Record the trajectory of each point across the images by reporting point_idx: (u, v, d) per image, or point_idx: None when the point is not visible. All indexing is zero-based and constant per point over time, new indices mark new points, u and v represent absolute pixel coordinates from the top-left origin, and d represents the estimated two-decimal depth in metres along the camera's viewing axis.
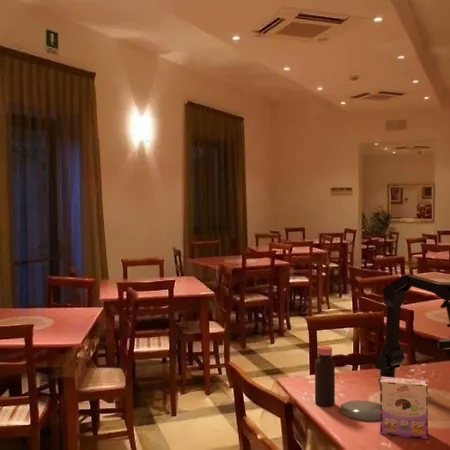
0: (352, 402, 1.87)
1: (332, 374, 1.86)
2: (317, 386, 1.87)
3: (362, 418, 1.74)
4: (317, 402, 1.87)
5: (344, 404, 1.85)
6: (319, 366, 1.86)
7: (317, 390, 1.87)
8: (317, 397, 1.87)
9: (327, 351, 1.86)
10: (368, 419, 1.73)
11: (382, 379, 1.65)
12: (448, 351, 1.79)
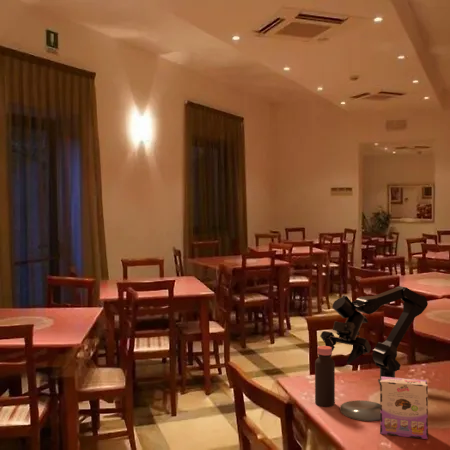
0: (352, 402, 1.87)
1: (332, 374, 1.86)
2: (317, 386, 1.87)
3: (362, 418, 1.74)
4: (317, 402, 1.87)
5: (344, 404, 1.85)
6: (319, 366, 1.86)
7: (317, 390, 1.87)
8: (317, 397, 1.87)
9: (327, 351, 1.86)
10: (368, 419, 1.73)
11: (382, 379, 1.65)
12: None
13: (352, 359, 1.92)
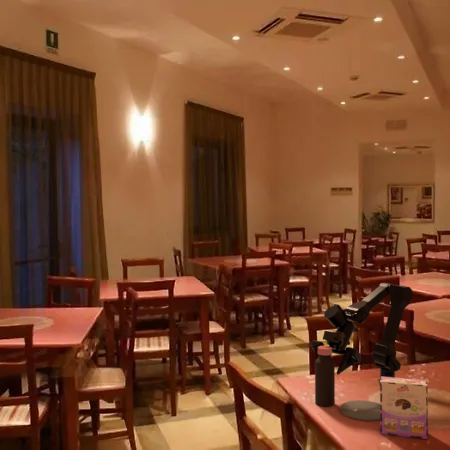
0: (352, 402, 1.87)
1: (332, 374, 1.86)
2: (317, 386, 1.87)
3: (362, 418, 1.74)
4: (317, 402, 1.87)
5: (344, 404, 1.85)
6: (319, 366, 1.86)
7: (317, 390, 1.87)
8: (317, 397, 1.87)
9: (327, 351, 1.86)
10: (368, 419, 1.73)
11: (382, 379, 1.65)
12: None
13: (342, 370, 1.87)
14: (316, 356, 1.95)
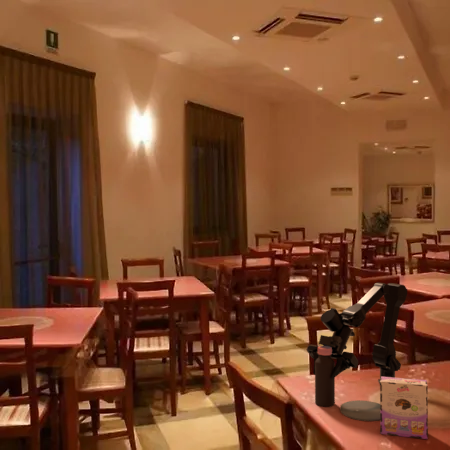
0: (352, 402, 1.87)
1: None
2: (317, 386, 1.87)
3: (362, 418, 1.74)
4: (317, 402, 1.87)
5: (344, 404, 1.85)
6: (319, 366, 1.86)
7: (317, 390, 1.87)
8: (317, 397, 1.87)
9: (327, 351, 1.86)
10: (368, 419, 1.73)
11: (382, 379, 1.65)
12: None
13: (336, 374, 1.86)
14: None
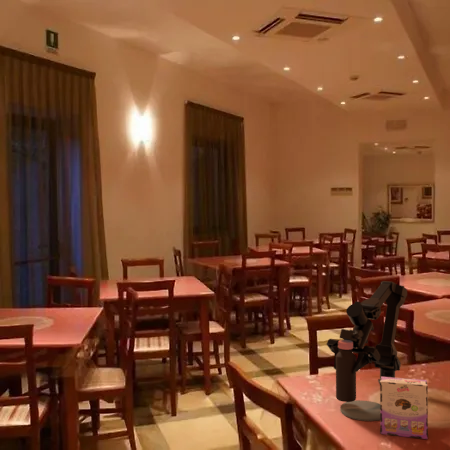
0: (352, 402, 1.87)
1: None
2: (338, 381, 1.83)
3: (362, 418, 1.74)
4: (338, 397, 1.83)
5: (344, 404, 1.85)
6: (340, 360, 1.82)
7: (338, 385, 1.83)
8: (338, 392, 1.83)
9: (348, 345, 1.82)
10: (368, 419, 1.73)
11: (382, 379, 1.65)
12: None
13: (357, 368, 1.82)
14: (335, 356, 1.88)
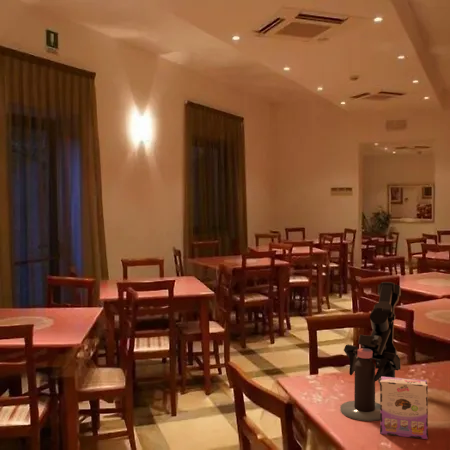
0: (352, 402, 1.87)
1: (373, 378, 1.78)
2: (357, 390, 1.79)
3: (362, 418, 1.74)
4: (357, 407, 1.80)
5: (344, 404, 1.85)
6: (360, 369, 1.78)
7: (357, 394, 1.80)
8: (357, 402, 1.80)
9: (368, 354, 1.78)
10: (368, 419, 1.73)
11: (382, 379, 1.65)
12: None
13: (380, 376, 1.77)
14: (351, 361, 1.85)
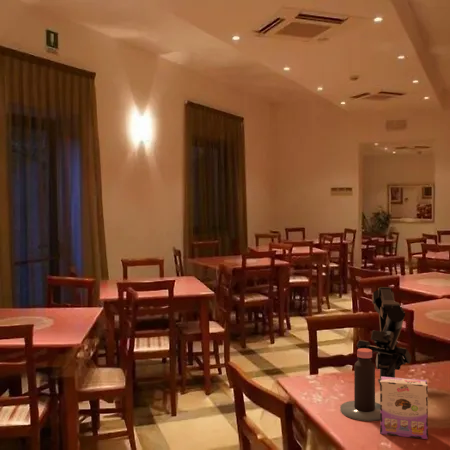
0: (352, 402, 1.87)
1: (373, 378, 1.78)
2: (357, 390, 1.79)
3: (362, 418, 1.74)
4: (357, 407, 1.80)
5: (344, 404, 1.85)
6: (359, 369, 1.78)
7: (357, 394, 1.80)
8: (357, 402, 1.80)
9: (368, 354, 1.78)
10: (368, 419, 1.73)
11: (382, 379, 1.65)
12: None
13: (392, 370, 1.84)
14: None
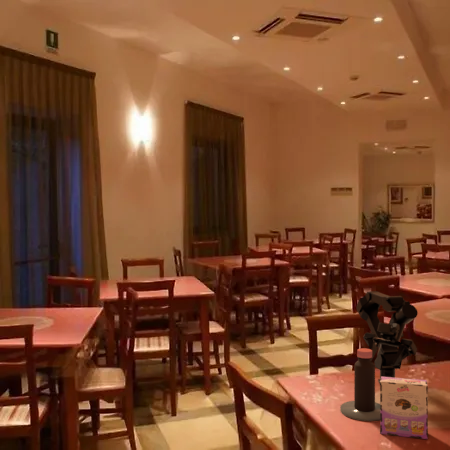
0: (352, 402, 1.87)
1: (373, 378, 1.78)
2: (357, 390, 1.79)
3: (362, 418, 1.74)
4: (357, 407, 1.80)
5: (344, 404, 1.85)
6: (360, 369, 1.78)
7: (357, 394, 1.80)
8: (357, 402, 1.80)
9: (368, 354, 1.78)
10: (368, 419, 1.73)
11: (382, 379, 1.65)
12: None
13: (398, 361, 1.89)
14: (370, 348, 1.96)
